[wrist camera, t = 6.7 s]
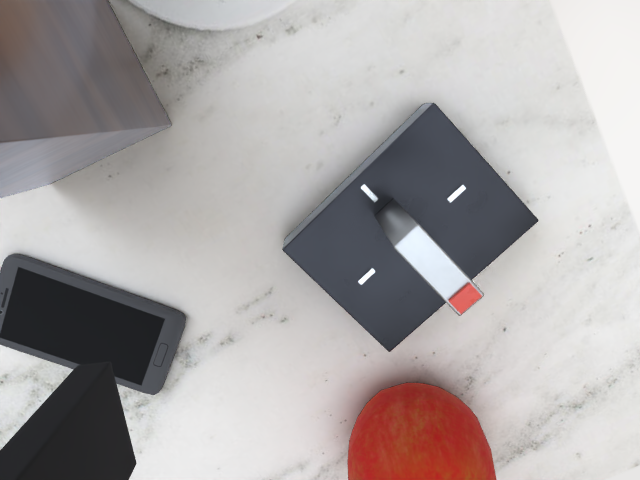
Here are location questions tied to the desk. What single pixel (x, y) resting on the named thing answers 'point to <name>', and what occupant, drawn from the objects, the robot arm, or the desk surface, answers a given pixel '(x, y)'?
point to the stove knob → (428, 258)
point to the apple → (418, 438)
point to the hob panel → (425, 207)
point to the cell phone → (86, 323)
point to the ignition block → (67, 91)
